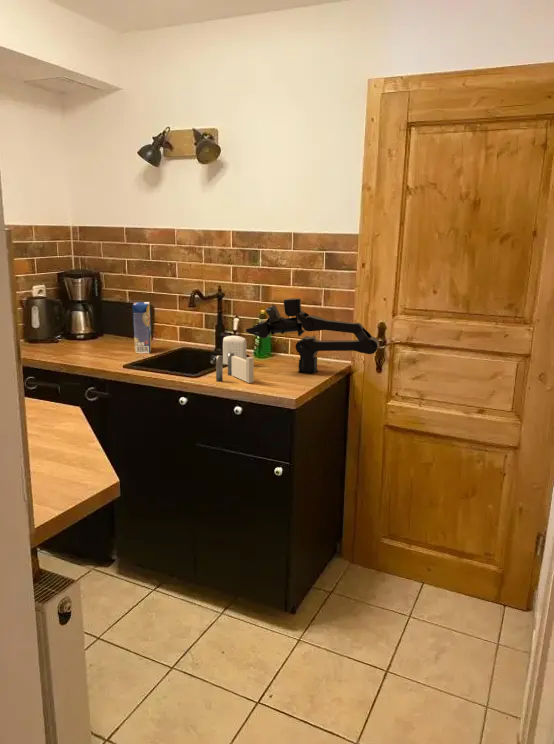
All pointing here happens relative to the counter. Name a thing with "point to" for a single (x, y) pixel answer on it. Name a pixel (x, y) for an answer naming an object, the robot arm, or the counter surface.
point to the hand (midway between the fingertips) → (249, 328)
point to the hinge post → (230, 363)
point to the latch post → (219, 368)
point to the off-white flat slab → (243, 368)
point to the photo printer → (234, 347)
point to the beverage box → (142, 327)
